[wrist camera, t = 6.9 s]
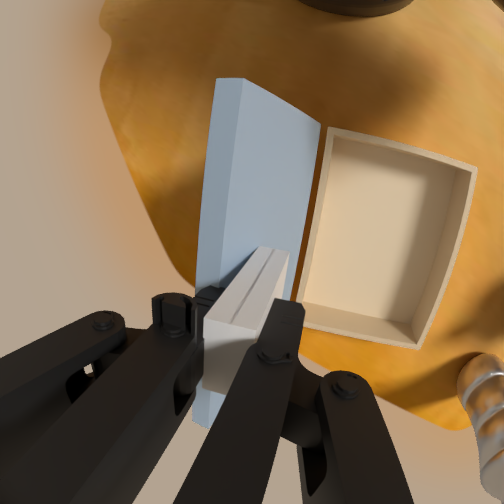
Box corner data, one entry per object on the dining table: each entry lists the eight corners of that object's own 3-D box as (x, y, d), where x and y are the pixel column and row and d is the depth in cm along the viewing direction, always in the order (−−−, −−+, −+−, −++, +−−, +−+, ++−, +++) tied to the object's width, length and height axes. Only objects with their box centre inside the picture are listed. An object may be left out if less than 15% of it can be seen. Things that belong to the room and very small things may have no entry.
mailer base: (329, 131, 23) (328, 126, 19) (459, 165, 20) (478, 167, 17) (297, 302, 29) (290, 323, 25) (412, 326, 26) (419, 350, 22)
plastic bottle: (449, 395, 27) (475, 538, 9) (455, 352, 25) (503, 511, 7) (492, 382, 25) (535, 512, 6) (502, 339, 23) (569, 476, 5)
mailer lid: (321, 124, 19) (307, 121, 19) (243, 77, 8) (216, 78, 9) (283, 326, 24) (272, 323, 25) (208, 429, 14) (192, 420, 14)
